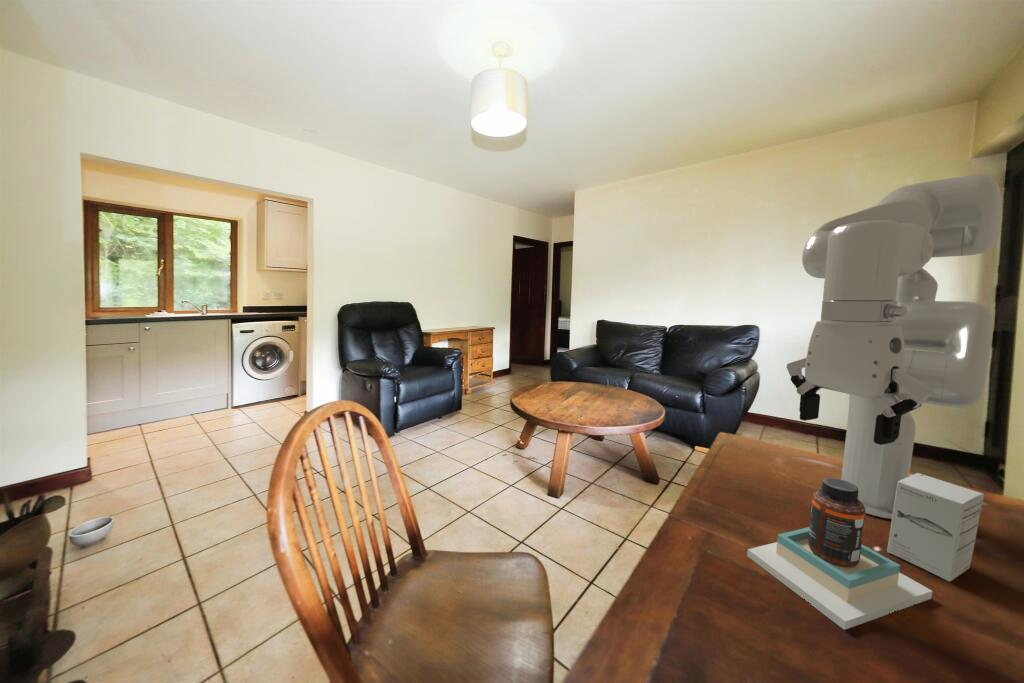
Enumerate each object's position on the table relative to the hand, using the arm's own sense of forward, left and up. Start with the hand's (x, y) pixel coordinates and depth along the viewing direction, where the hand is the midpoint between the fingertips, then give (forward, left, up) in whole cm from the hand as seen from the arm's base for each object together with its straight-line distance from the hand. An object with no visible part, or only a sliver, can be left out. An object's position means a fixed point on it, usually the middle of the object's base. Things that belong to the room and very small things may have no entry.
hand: (843, 430), depth 55 cm
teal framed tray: (+1, +1, -22) cm, 22 cm away
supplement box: (-17, +3, -23) cm, 29 cm away
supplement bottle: (+1, +1, -19) cm, 19 cm away
